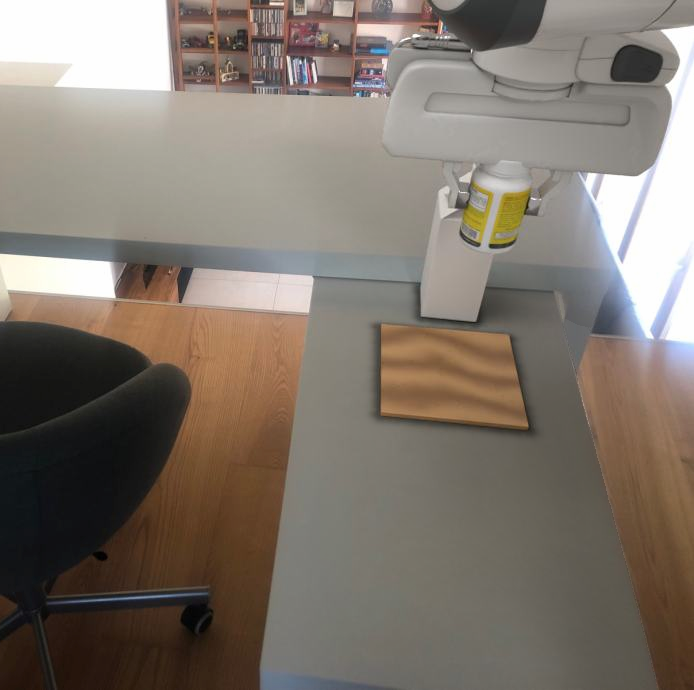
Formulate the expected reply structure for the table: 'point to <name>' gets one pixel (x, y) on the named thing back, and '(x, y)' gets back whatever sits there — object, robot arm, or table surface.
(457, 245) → the milk carton
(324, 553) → the table surface
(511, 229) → the supplement bottle
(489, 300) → the table surface
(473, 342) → the wooden board
